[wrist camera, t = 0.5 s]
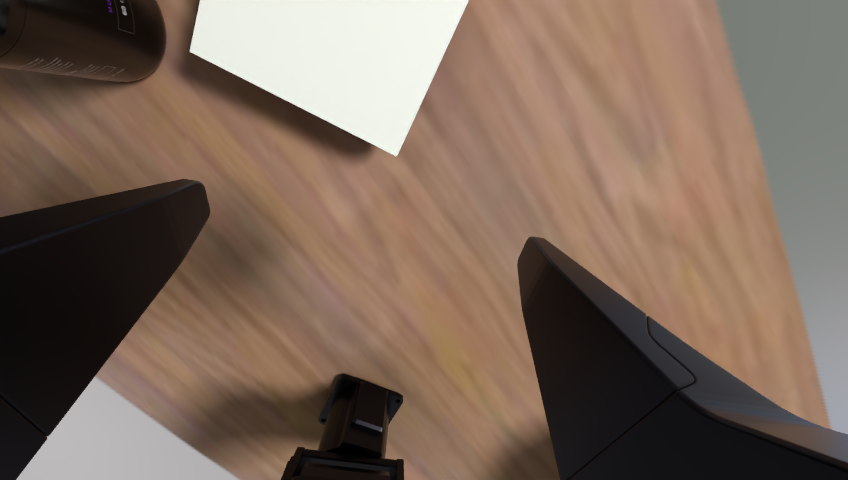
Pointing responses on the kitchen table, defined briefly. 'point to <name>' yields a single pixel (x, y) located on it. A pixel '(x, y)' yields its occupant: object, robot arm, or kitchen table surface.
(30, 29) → the supplement bottle
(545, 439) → the kitchen table surface
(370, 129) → the white square riser
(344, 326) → the kitchen table surface
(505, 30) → the kitchen table surface
